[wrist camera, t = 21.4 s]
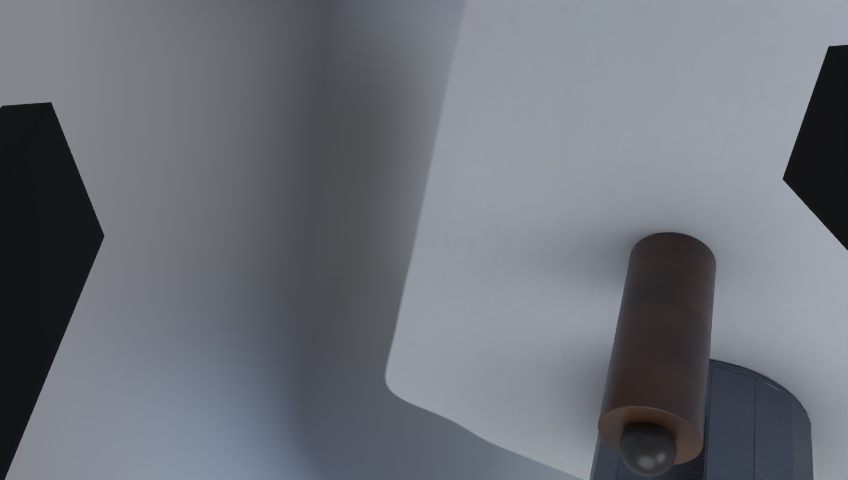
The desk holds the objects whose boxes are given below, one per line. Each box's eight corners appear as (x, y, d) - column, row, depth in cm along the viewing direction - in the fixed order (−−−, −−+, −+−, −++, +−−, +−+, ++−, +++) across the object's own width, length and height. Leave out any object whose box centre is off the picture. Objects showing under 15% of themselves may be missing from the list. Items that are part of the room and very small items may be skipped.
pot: (571, 409, 55) (546, 523, 49) (685, 329, 45) (671, 460, 39) (717, 490, 56) (710, 612, 50) (860, 430, 46) (874, 574, 39)
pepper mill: (614, 264, 43) (571, 464, 34) (663, 219, 39) (631, 429, 30) (679, 302, 43) (655, 510, 34) (734, 261, 40) (724, 481, 31)
